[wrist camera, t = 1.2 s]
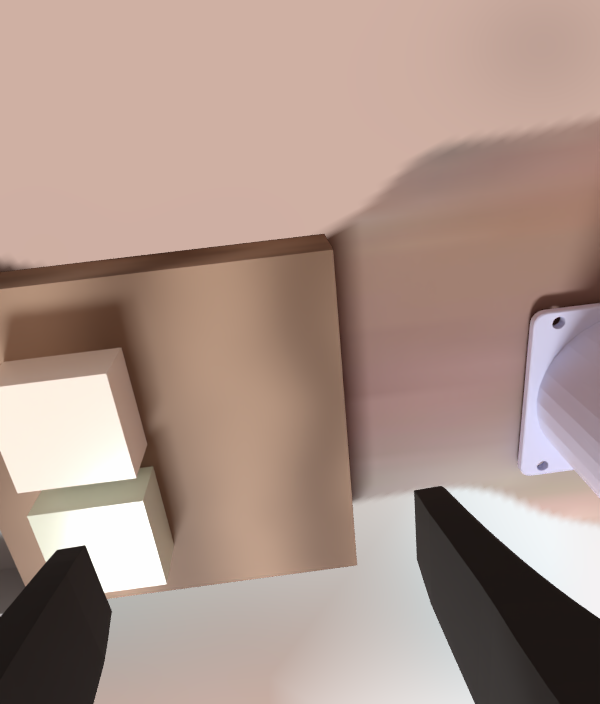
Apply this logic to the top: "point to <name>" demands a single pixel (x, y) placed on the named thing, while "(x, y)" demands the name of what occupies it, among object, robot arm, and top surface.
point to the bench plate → (209, 399)
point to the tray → (8, 577)
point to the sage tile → (109, 529)
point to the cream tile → (69, 420)
